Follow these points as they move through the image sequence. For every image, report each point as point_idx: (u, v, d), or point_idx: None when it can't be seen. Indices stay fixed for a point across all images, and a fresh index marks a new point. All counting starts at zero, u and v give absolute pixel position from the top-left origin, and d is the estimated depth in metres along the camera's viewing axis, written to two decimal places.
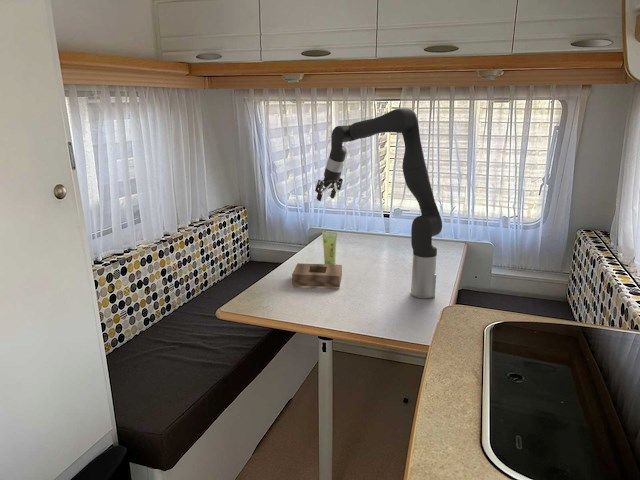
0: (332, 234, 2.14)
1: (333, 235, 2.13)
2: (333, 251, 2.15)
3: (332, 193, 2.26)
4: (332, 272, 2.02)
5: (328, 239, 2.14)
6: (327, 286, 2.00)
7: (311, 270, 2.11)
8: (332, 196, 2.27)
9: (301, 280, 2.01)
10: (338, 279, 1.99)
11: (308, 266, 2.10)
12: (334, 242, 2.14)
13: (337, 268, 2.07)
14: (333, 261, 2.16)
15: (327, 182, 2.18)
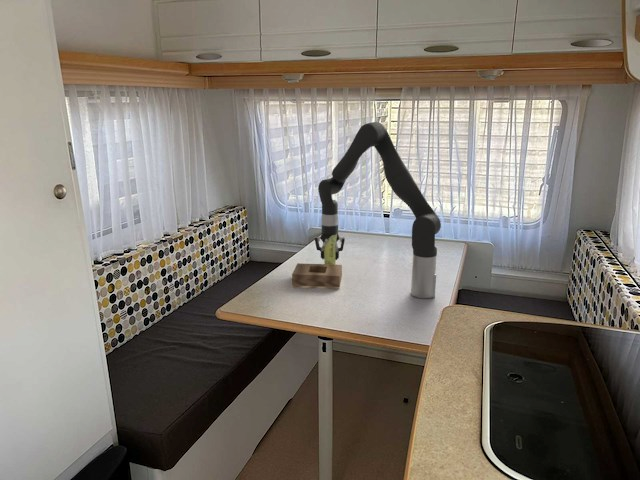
0: None
1: (333, 235, 2.13)
2: (333, 251, 2.15)
3: None
4: (332, 272, 2.02)
5: (328, 239, 2.14)
6: (327, 286, 2.00)
7: (311, 270, 2.11)
8: None
9: (301, 280, 2.01)
10: (338, 279, 1.99)
11: (308, 266, 2.10)
12: (334, 242, 2.14)
13: (337, 268, 2.07)
14: (333, 261, 2.16)
15: (322, 238, 2.15)
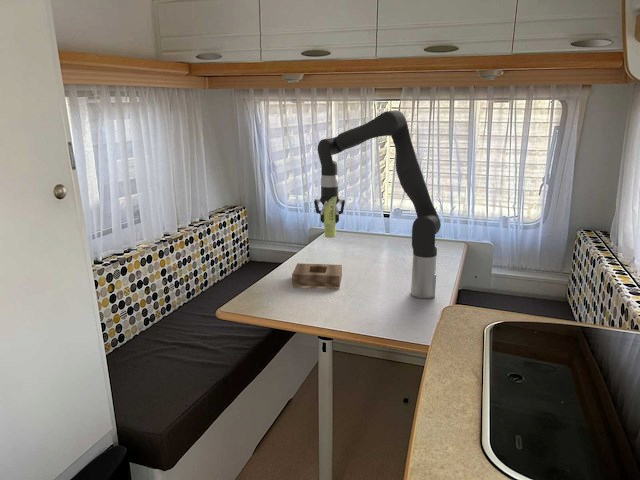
0: None
1: (333, 197, 2.09)
2: (333, 214, 2.10)
3: None
4: (332, 272, 2.02)
5: (328, 201, 2.10)
6: (327, 286, 2.00)
7: (311, 270, 2.11)
8: None
9: (301, 280, 2.01)
10: (338, 279, 1.99)
11: (308, 266, 2.10)
12: (334, 204, 2.09)
13: (337, 268, 2.07)
14: (333, 224, 2.11)
15: (322, 201, 2.10)
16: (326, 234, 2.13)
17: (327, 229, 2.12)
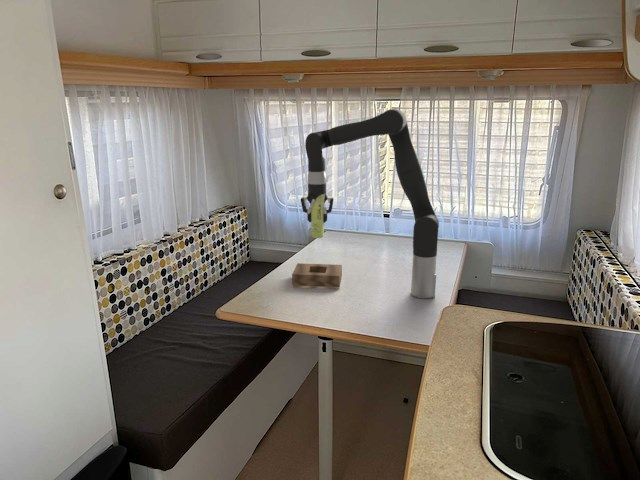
0: None
1: (320, 195, 1.96)
2: (321, 213, 1.97)
3: None
4: (332, 272, 2.02)
5: None
6: (327, 286, 2.00)
7: (311, 270, 2.11)
8: None
9: (301, 280, 2.01)
10: (338, 279, 1.99)
11: (308, 266, 2.10)
12: (322, 203, 1.96)
13: (337, 268, 2.07)
14: (321, 224, 1.98)
15: (309, 199, 1.97)
16: (313, 234, 2.00)
17: (314, 229, 1.99)
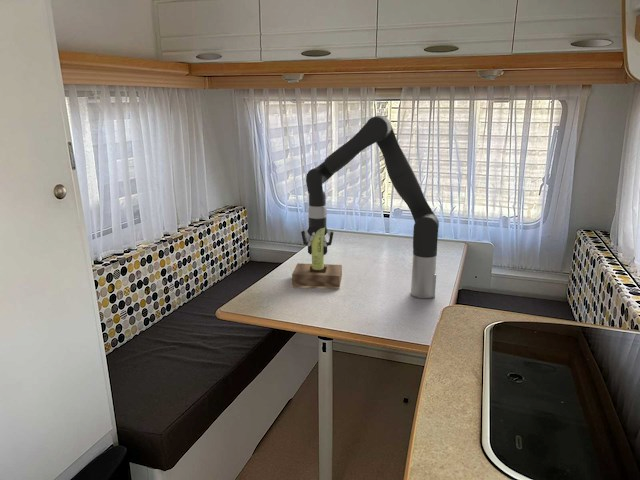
0: None
1: (321, 228, 2.00)
2: (321, 245, 2.01)
3: None
4: (332, 272, 2.02)
5: None
6: (327, 286, 2.00)
7: (311, 270, 2.11)
8: None
9: (301, 280, 2.01)
10: (338, 279, 1.99)
11: (308, 266, 2.10)
12: (322, 236, 2.00)
13: (337, 268, 2.07)
14: (321, 256, 2.02)
15: (310, 232, 2.01)
16: (314, 266, 2.04)
17: (314, 261, 2.03)
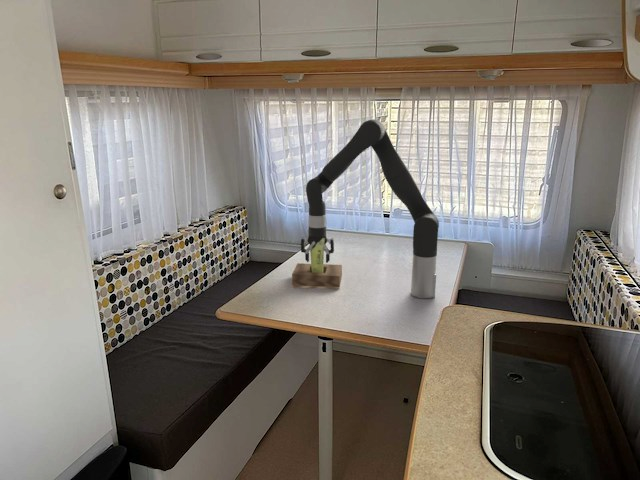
0: None
1: None
2: (320, 258, 2.02)
3: (326, 256, 2.04)
4: (332, 272, 2.02)
5: None
6: (327, 286, 2.00)
7: (311, 270, 2.11)
8: (326, 260, 2.04)
9: (301, 280, 2.01)
10: (338, 279, 1.99)
11: (308, 266, 2.10)
12: (321, 248, 2.01)
13: (337, 268, 2.07)
14: (320, 268, 2.04)
15: (310, 240, 2.02)
16: None
17: None
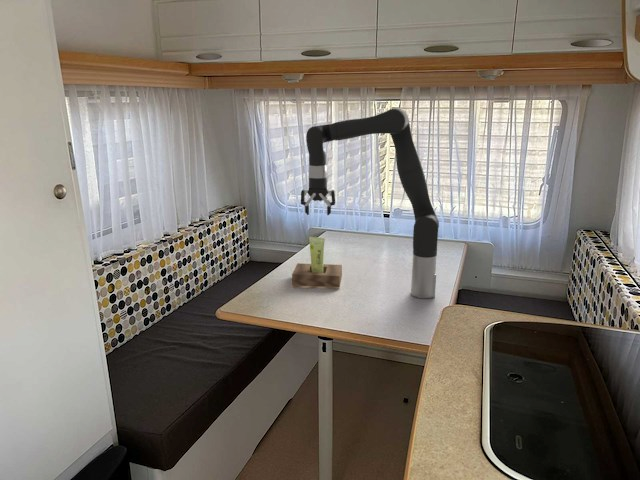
0: (319, 240, 2.01)
1: (320, 241, 2.01)
2: (320, 258, 2.02)
3: (327, 209, 1.99)
4: (332, 272, 2.02)
5: (315, 245, 2.02)
6: (327, 286, 2.00)
7: (311, 270, 2.11)
8: (327, 212, 1.99)
9: (301, 280, 2.01)
10: (338, 279, 1.99)
11: (308, 266, 2.10)
12: (321, 248, 2.01)
13: (337, 268, 2.07)
14: (320, 268, 2.04)
15: (310, 192, 1.96)
16: None
17: None
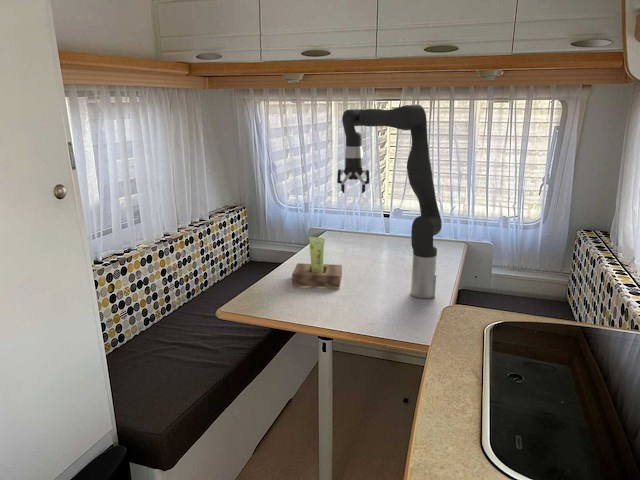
0: (319, 240, 2.01)
1: (320, 241, 2.01)
2: (320, 258, 2.02)
3: (362, 187, 2.13)
4: (332, 272, 2.02)
5: (315, 245, 2.02)
6: (327, 286, 2.00)
7: (311, 270, 2.11)
8: (362, 191, 2.13)
9: (301, 280, 2.01)
10: (338, 279, 1.99)
11: (308, 266, 2.10)
12: (321, 248, 2.01)
13: (337, 268, 2.07)
14: (320, 268, 2.04)
15: (346, 171, 2.11)
16: None
17: None
